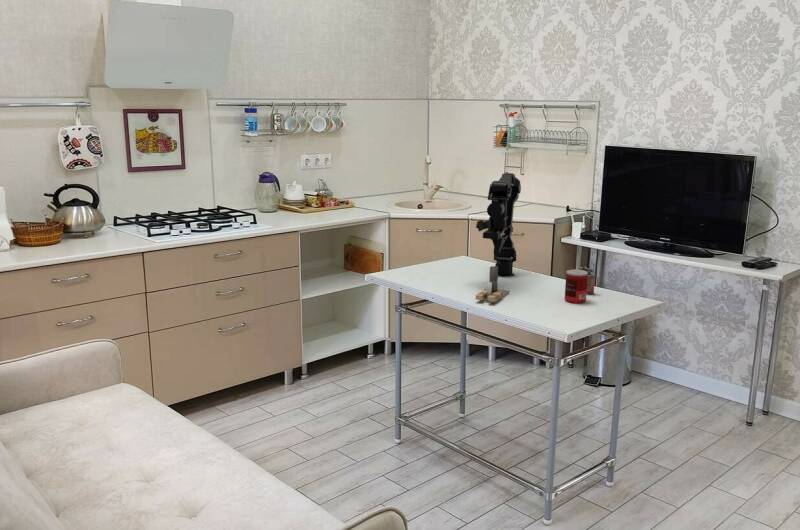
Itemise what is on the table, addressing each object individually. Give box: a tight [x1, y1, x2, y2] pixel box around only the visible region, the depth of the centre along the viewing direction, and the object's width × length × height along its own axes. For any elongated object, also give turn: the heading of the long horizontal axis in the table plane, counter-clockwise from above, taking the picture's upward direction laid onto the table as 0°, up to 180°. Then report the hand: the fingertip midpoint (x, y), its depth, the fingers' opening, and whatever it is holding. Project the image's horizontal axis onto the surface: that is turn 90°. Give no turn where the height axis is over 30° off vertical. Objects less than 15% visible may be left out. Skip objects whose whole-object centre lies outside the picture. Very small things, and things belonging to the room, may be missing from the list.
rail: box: [479, 282, 510, 304], centre depth 263 cm, size 16×6×7 cm, turn 153°
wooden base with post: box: [475, 265, 503, 302], centre depth 258 cm, size 10×7×11 cm
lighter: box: [578, 266, 597, 296], centre depth 270 cm, size 8×3×10 cm, turn 47°
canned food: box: [564, 269, 589, 305], centre depth 259 cm, size 8×8×11 cm
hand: (497, 253), depth 278 cm, fingers closed
